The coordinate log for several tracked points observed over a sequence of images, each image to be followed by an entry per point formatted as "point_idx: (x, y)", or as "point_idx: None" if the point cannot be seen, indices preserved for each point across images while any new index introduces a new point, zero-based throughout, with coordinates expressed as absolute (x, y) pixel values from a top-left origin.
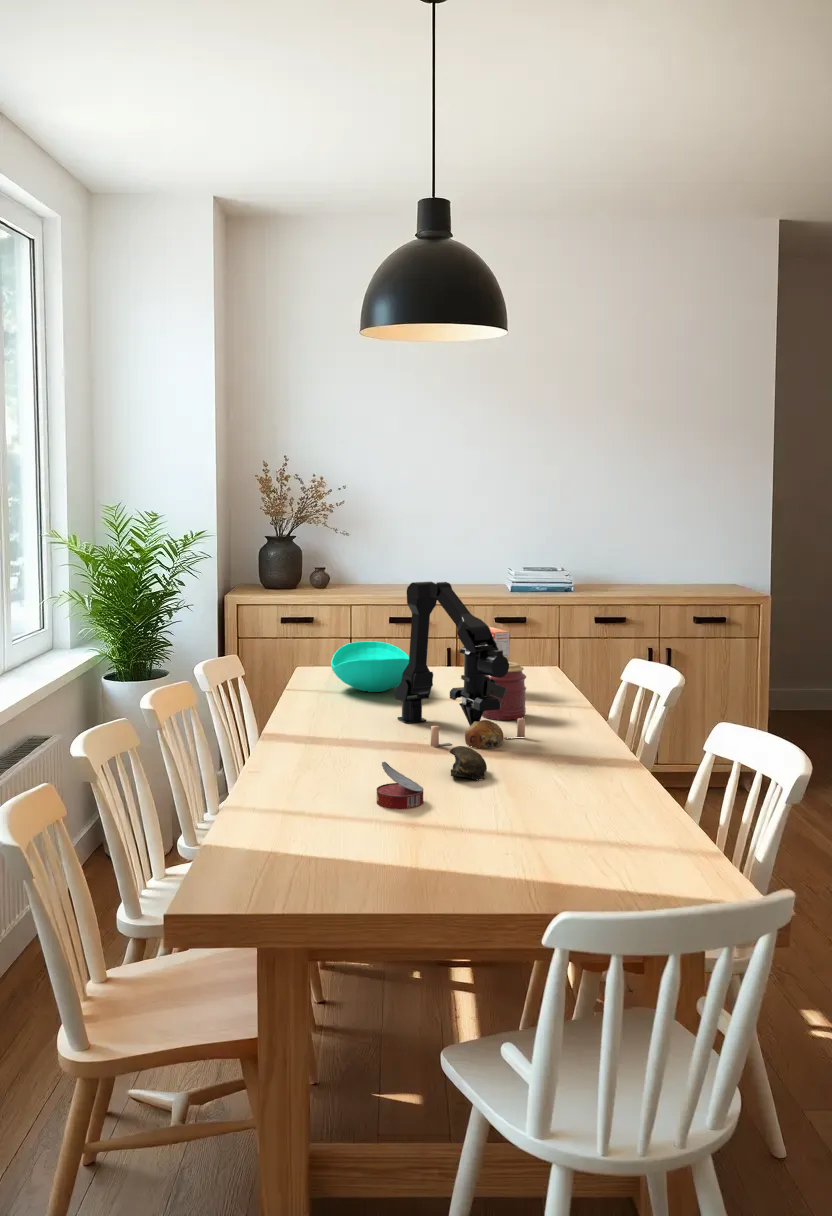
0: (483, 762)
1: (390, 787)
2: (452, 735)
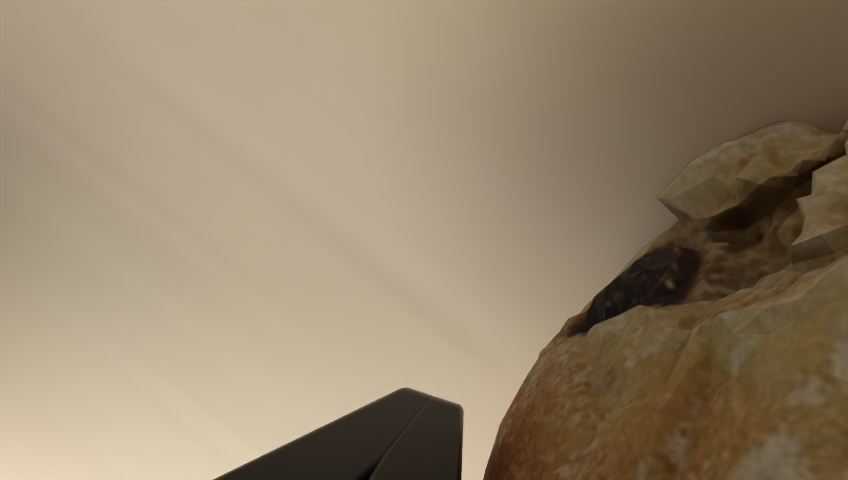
0: None
1: None
2: (123, 377)
